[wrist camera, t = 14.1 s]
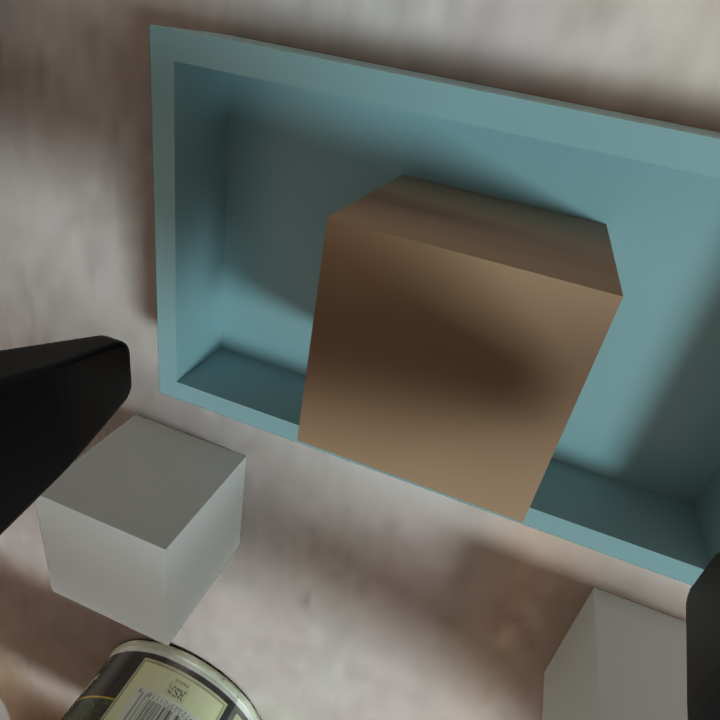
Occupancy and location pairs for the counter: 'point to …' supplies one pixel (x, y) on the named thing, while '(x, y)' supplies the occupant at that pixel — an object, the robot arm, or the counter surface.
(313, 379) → the walnut block
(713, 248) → the tray
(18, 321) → the counter surface
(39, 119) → the counter surface
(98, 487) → the grey block left
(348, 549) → the counter surface
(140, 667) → the coffee can
